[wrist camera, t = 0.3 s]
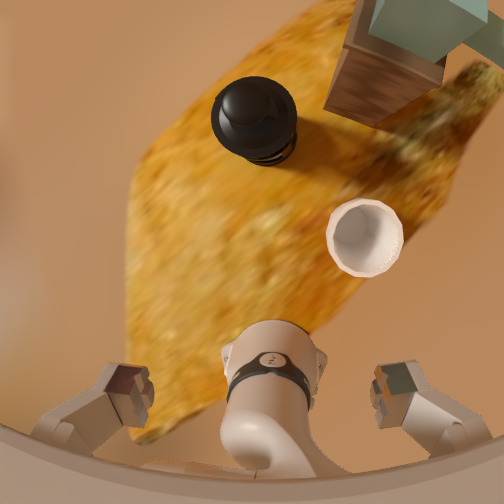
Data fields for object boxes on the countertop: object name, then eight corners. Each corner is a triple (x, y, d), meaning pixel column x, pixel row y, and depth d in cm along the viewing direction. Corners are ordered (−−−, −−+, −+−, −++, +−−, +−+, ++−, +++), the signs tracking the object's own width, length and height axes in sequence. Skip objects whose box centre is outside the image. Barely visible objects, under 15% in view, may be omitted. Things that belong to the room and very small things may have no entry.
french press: (312, 136, 47) (329, 102, 24) (272, 181, 49) (256, 183, 27) (254, 89, 46) (226, 27, 24) (215, 133, 48) (158, 102, 26)
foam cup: (308, 234, 50) (313, 253, 38) (336, 183, 48) (352, 184, 35) (358, 263, 50) (378, 290, 38) (387, 213, 48) (416, 225, 35)
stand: (385, 77, 43) (453, 5, 18) (370, 128, 45) (441, 86, 20) (334, 58, 43) (366, -33, 18) (318, 109, 46) (343, 43, 20)
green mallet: (518, 62, 18) (574, 38, 9) (513, 112, 19) (577, 99, 11) (363, -22, 19) (384, -83, 10) (349, 26, 20) (371, -34, 11)
